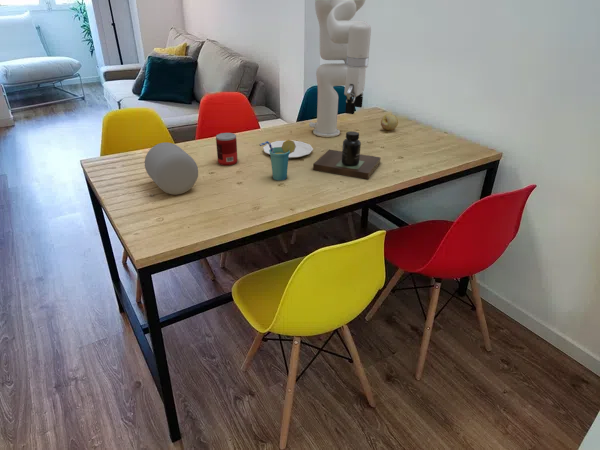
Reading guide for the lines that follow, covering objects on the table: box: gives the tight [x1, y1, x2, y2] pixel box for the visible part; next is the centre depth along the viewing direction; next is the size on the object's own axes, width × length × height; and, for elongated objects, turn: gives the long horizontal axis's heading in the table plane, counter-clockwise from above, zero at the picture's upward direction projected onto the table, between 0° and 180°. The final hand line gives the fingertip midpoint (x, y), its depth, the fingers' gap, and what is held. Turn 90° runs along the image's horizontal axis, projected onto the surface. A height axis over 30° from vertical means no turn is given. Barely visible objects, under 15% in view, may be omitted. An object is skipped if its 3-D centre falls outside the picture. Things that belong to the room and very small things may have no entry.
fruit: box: [380, 113, 399, 132], centre depth 217 cm, size 8×8×8 cm
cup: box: [259, 139, 296, 181], centre depth 163 cm, size 14×8×15 cm, turn 122°
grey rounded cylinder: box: [144, 142, 199, 196], centre depth 157 cm, size 19×15×25 cm
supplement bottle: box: [341, 130, 362, 166], centre depth 170 cm, size 7×7×12 cm
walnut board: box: [312, 149, 381, 180], centre depth 177 cm, size 22×18×3 cm
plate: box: [262, 139, 314, 159], centre depth 191 cm, size 21×21×2 cm
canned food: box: [215, 132, 238, 167], centre depth 177 cm, size 8×8×11 cm
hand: (353, 110), depth 167 cm, fingers open, 9 cm apart
